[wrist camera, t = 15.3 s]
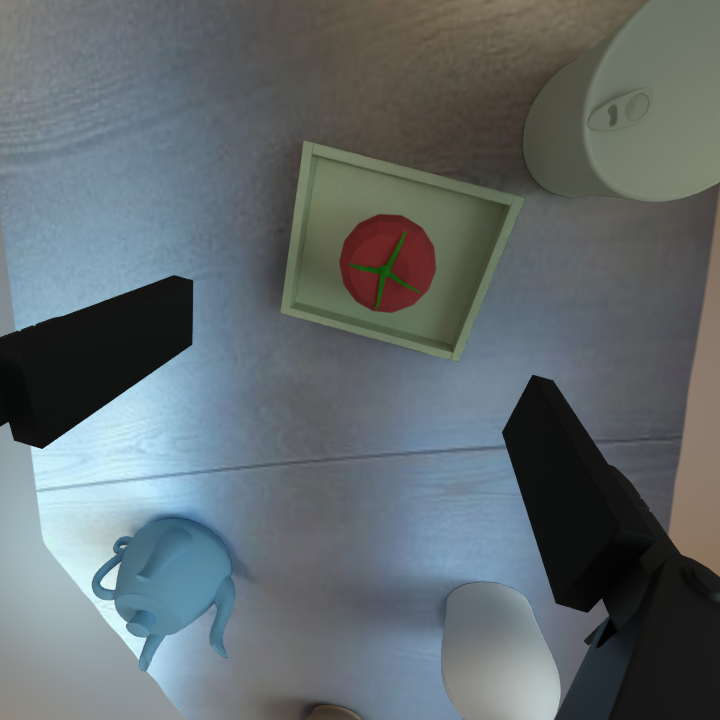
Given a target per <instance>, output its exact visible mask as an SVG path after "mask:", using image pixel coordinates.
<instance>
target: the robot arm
mask: <svg viewBox="0 0 720 720" xmlns="http://www.w3.org/2000/svg"><path fill="white" fill-rule="evenodd" d="M192 333H193V280H190V279H186V278H182V277H179V276H175V275H173V276H171V277H168V278H165V279H162V280H160V281H157V282H154V283H152V284H149V285H146V286H143V287H141V288H138V289H135V290H133V291H130V292H127V293H124V294H122V295H119V296H116V297H113V298H111V299H108V300H105V301H103V302H100V303H97V304H94V305H92V306H89V307H86V308H84V309H81V310H78V311H75V312H73V313H70V314H67V315H65V316H60V317H55V318H51V319H49V320H46V321H43V322H40V323H38V324H36V325H35V326H33V325H32V326H29V327H27V328H24V329H21V331H16V332H13V333H10V334H8V335H4V336H2V337H0V426H2V425H4V424H6V423H7V422H9V424H10V428H11V431H12V435H13V438H14V441H17V442H21V443H24V444H27V445H31V446H34V447H37V448H41V449H43V448H44V447H46V446H47V445H49V444H50V443H52V442H53V441H55V440H56V439H57V438H59V437H60V436H62V435H63V434H65V433H66V432H67V431H69V430H70V429H72V428H73V427H75V426H76V425H77V424H79V423H80V422H82V421H83V420H85V419H86V418H88V417H89V416H90V415H92V414H93V413H95V412H96V411H98V410H99V409H100V408H102V407H103V406H105V405H106V404H108V403H109V402H111V401H112V400H113V399H115V398H116V397H118V396H119V395H121V394H122V393H123V392H125V391H126V390H128V389H129V388H131V387H132V386H133V385H135V384H136V383H138V382H139V381H141V380H142V379H144V378H145V377H146V376H148V375H149V374H151V373H152V372H154V371H155V370H156V369H158V368H159V367H161V366H162V365H164V364H165V363H166V362H168V361H169V360H171V359H172V358H174V357H175V356H177V355H178V354H179V353H181V352H182V351H184V350H185V349H187V348H188V347H189V346H191V345H192ZM502 434H503V437H504V440H505V444H506V447H507V450H508V453H509V456H510V459H511V463H512V466H513V469H514V472H515V475H516V479H517V482H518V485H519V488H520V491H521V494H522V498H523V501H524V504H525V507H526V510H527V513H528V517H529V520H530V523H531V526H532V529H533V532H534V536H535V539H536V542H537V545H538V548H539V551H540V555H541V558H542V561H543V564H544V567H545V570H546V574H547V577H548V580H549V583H550V586H551V589H552V593H553V596H554V599H555V602H556V604H560V605H563V606H566V607H570V608H573V609H576V610H580V611H583V612H586V613H588V612H589V611H590V610H591V609H592V608H593V607H594V606H595V605H596V604H597V603H598V602H599V600H600V599H601V598H602V599H603V602H604V604H605V606H606V609H607V611H608V613H609V616H608V617H607V618H606V619H605V620H604V621H603V622H602V623H601V624H600V625H599V626H598V627H597V628H596V629H595V630H594V631H593V632H592V633H591V634H590V635H589V636H588V637H587V638H586V639H585V640H584V642H585V643H586V644H587V645H590V644H591V645H590V647H589V649H588V651H587V654H586V656H585V658H584V660H583V662H582V664H581V666H580V668H579V670H578V672H577V674H576V676H575V678H574V680H573V683H572V685H571V687H570V689H569V691H568V693H567V695H566V697H565V699H564V701H563V703H562V705H561V707H560V709H559V712H558V714H557V716H556V718H555V720H720V577H719V576H718V575H716V574H715V573H714V572H712V571H711V570H710V569H709V568H707V567H706V566H704V565H702V564H701V563H699V562H697V561H695V560H694V559H691V558H688V557H686V556H683V555H681V554H680V552H679V551H678V549H677V548H676V547H675V545H674V544H673V543H672V541H671V540H670V538H669V537H668V535H667V534H666V532H665V531H664V529H663V528H662V526H661V525H660V524H659V522H658V521H657V519H656V518H655V516H654V515H653V513H652V512H649V508H648V506H647V505H646V503H645V502H644V501H643V499H640V497H641V496H640V495H639V493H638V492H637V490H636V489H635V488H634V486H633V485H632V483H631V482H630V481H629V480H628V479H627V478H626V477H625V476H624V475H623V474H622V473H621V472H620V471H619V470H618V469H616V468H615V467H614V466H611V465H608V463H607V462H606V460H605V459H604V457H603V455H602V454H601V452H600V451H599V449H598V448H597V446H596V445H595V443H594V442H593V440H592V439H591V437H590V436H589V434H588V433H587V431H586V430H585V428H584V427H583V425H582V424H581V422H580V421H579V419H578V417H577V416H576V414H575V413H574V411H573V410H572V408H571V407H570V405H569V404H568V402H567V401H566V399H565V398H564V396H563V395H562V393H561V392H560V390H559V389H558V387H557V386H556V384H555V383H554V381H553V380H550V379H546V378H543V377H539V376H535V375H532V377H531V379H530V380H529V382H528V384H527V386H526V388H525V390H524V392H523V394H522V396H521V397H520V399H519V401H518V403H517V405H516V407H515V409H514V411H513V413H512V415H511V416H510V418H509V420H508V422H507V424H506V426H505V428H504V430H503V432H502Z"/></svg>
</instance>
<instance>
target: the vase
mask: <svg viewBox="0 0 720 720" xmlns="http://www.w3.org/2000/svg"><path fill="white" fill-rule="evenodd" d="M441 673H442V679H443V684H444V687H445V690H446V693H447V695H448V697H449V699H450V701H451V703H452V704H453V705H454V707H455V708H456V710H457V711H458V713H459V714H460V716H461V717H462V718H463V720H554V718H555V716H556V712H557V709H558V705H559V700H560V680H559V674H558V671H557V667H556V664H555V662H554V659H553V657H552V654H551V652H550V650H549V648H548V646H547V644H546V642H545V640H544V638H543V636H542V634H541V632H540V630H539V627H538V625H537V623H536V621H535V618H534V615H533V612H532V608H531V606H530V604H529V602H528V600H527V598H526V597H525V596H524V595H522V594H521V593H520V592H518V591H517V590H516V589H514V588H511V587H508V586H505V585H502V584H499V583H489V582H477V583H471V584H465V585H463V586H461V587H459V588H457V589H455V590H453V591H452V593H451V594H450V595H449V597H448V598H447V599H446V620H445V626H444V632H443V638H442V647H441Z"/></svg>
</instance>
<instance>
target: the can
mask: <svg viewBox="0 0 720 720" xmlns="http://www.w3.org/2000/svg"><path fill="white" fill-rule="evenodd" d="M523 152H524V158H525V162H526V165H527V167H528V169H529V172H530V173H531V175H532V176H533V178H534V179H535V180H536V181H537V182H538V183H539V184H540V185H541V186H542V187H543V188H545V189H546V190H548V191H550V192H552V193H554V194H558V195H561V196H567V197H580V196H586V195H592V196H607V197H620V198H628V199H632V200H637V201H644V202H661V201H670V200H675V199H679V198H683V197H687V196H690V195H693V194H696V193H698V192H701V191H703V190H705V189H707V188H709V187H711V186H713V185H715V184H717V183H719V182H720V0H647V1H646V2H644V3H643V4H642V5H641V6H640V7H639V8H638V9H637V10H636V11H635V12H634V13H633V14H632V15H631V16H630V17H629V18H628V19H627V20H626V21H625V22H624V23H622V24H621V25H620V26H619V27H617V28H616V29H615V30H614V31H613V32H611V33H610V34H609V35H608V36H606V37H605V38H604V39H603V40H602V41H600V42H599V43H598V44H597V45H595V46H594V47H593V48H592V49H590V50H589V51H588V52H587V53H585V54H584V55H583V56H581V57H580V58H578V59H576V60H574V61H572V62H571V63H569V64H568V65H566V66H565V67H563V68H562V69H561V70H560V71H558V72H557V73H556V74H555V75H554V76H553V77H552V78H551V79H550V80H549V81H548V82H547V83H546V85H545V86H544V87H543V89H542V90H541V91H540V93H539V94H538V96H537V97H536V99H535V101H534V103H533V105H532V107H531V109H530V111H529V114H528V117H527V120H526V123H525V128H524V134H523Z"/></svg>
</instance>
